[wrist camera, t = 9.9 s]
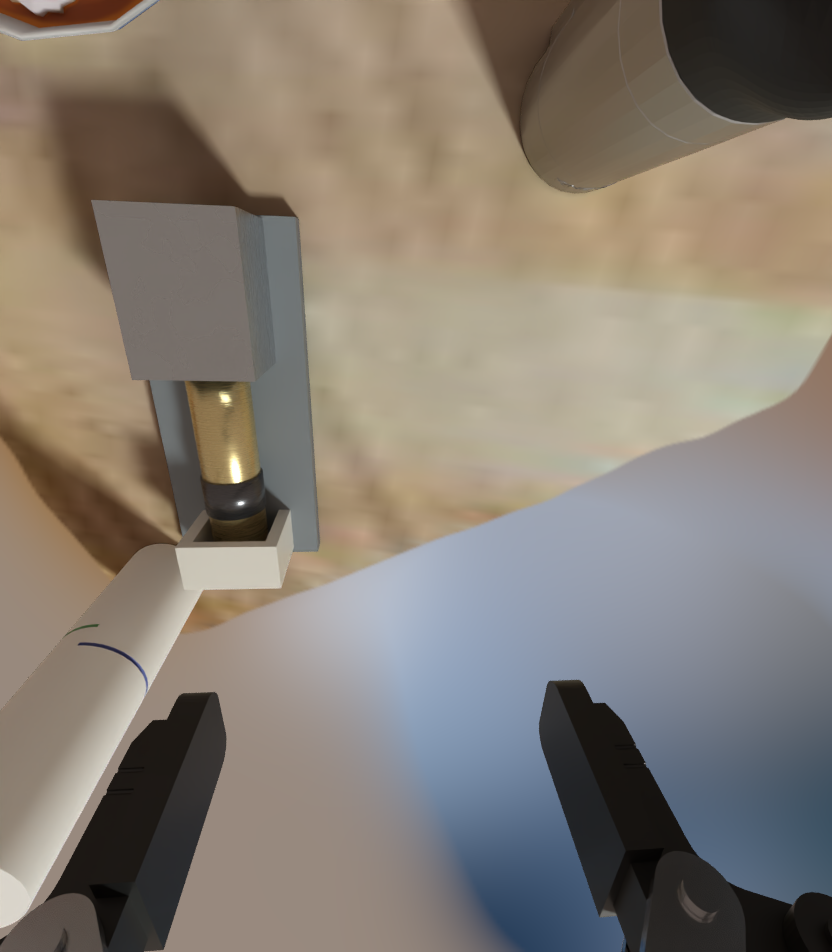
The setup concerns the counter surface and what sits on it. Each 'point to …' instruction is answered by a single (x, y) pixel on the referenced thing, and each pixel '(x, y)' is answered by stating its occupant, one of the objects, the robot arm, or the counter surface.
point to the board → (261, 406)
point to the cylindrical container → (80, 715)
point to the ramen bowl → (67, 17)
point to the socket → (234, 557)
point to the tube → (229, 459)
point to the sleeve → (189, 289)
